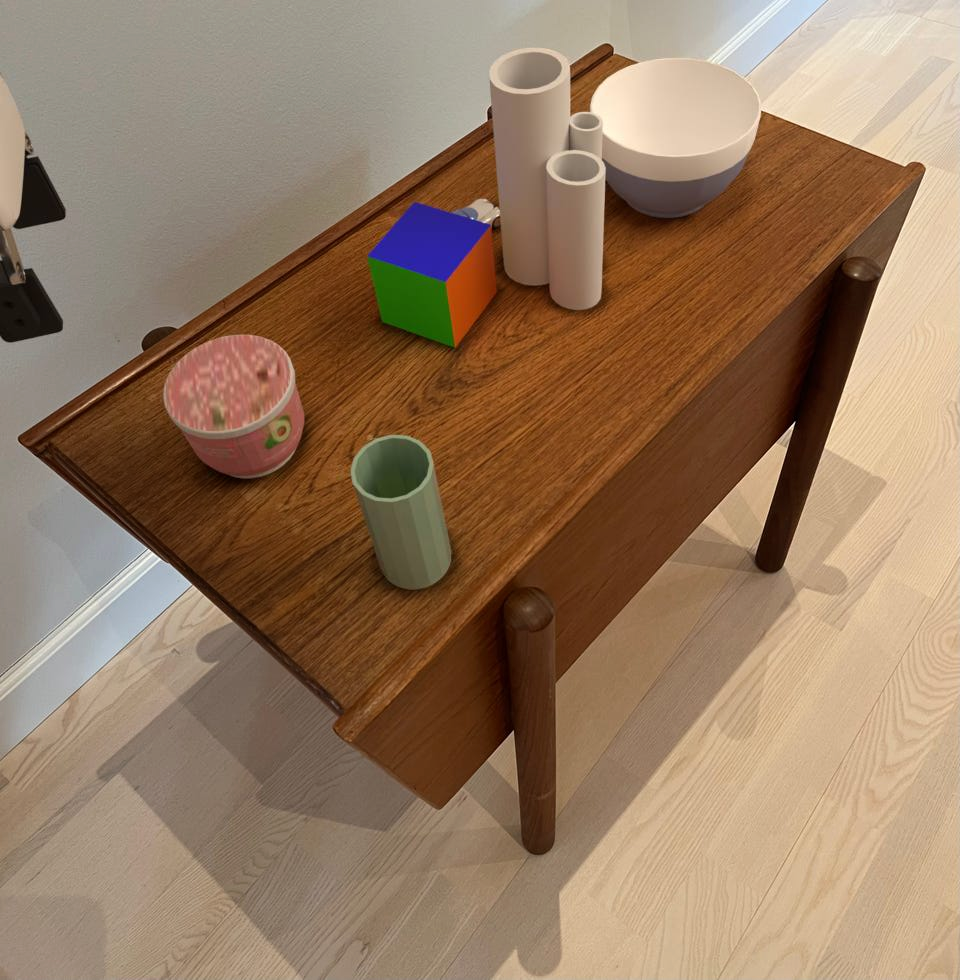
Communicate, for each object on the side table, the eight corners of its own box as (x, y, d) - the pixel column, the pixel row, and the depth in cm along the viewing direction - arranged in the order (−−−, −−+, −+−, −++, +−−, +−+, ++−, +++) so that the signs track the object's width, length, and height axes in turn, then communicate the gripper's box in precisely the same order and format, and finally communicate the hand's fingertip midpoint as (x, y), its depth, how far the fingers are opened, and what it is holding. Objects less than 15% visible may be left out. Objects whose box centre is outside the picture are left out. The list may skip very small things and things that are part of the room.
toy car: (532, 209, 96) (531, 188, 94) (436, 262, 93) (433, 241, 91) (510, 192, 98) (509, 171, 96) (416, 244, 95) (412, 223, 93)
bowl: (647, 124, 103) (653, 40, 95) (776, 176, 96) (794, 90, 88) (556, 201, 97) (555, 118, 89) (688, 263, 90) (699, 179, 82)
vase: (489, 268, 92) (471, 78, 75) (535, 228, 95) (527, 36, 78) (582, 317, 87) (585, 125, 71) (628, 273, 90) (640, 79, 74)
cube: (425, 268, 93) (414, 201, 86) (496, 292, 90) (491, 224, 83) (382, 321, 89) (366, 256, 82) (455, 347, 86) (445, 282, 80)
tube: (387, 597, 72) (358, 510, 62) (374, 538, 75) (344, 446, 65) (458, 579, 72) (441, 489, 62) (442, 520, 75) (423, 426, 66)
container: (198, 505, 78) (165, 446, 72) (191, 411, 84) (159, 349, 78) (323, 475, 79) (300, 414, 72) (307, 385, 85) (285, 321, 78)
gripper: (-201, -105, 44) (-19, 197, 58) (-285, 93, 34) (-41, 400, 48) (-39, -134, 45) (103, 172, 59) (-75, 53, 35) (106, 368, 49)
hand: (38, 274), depth 54 cm, fingers open, 9 cm apart
